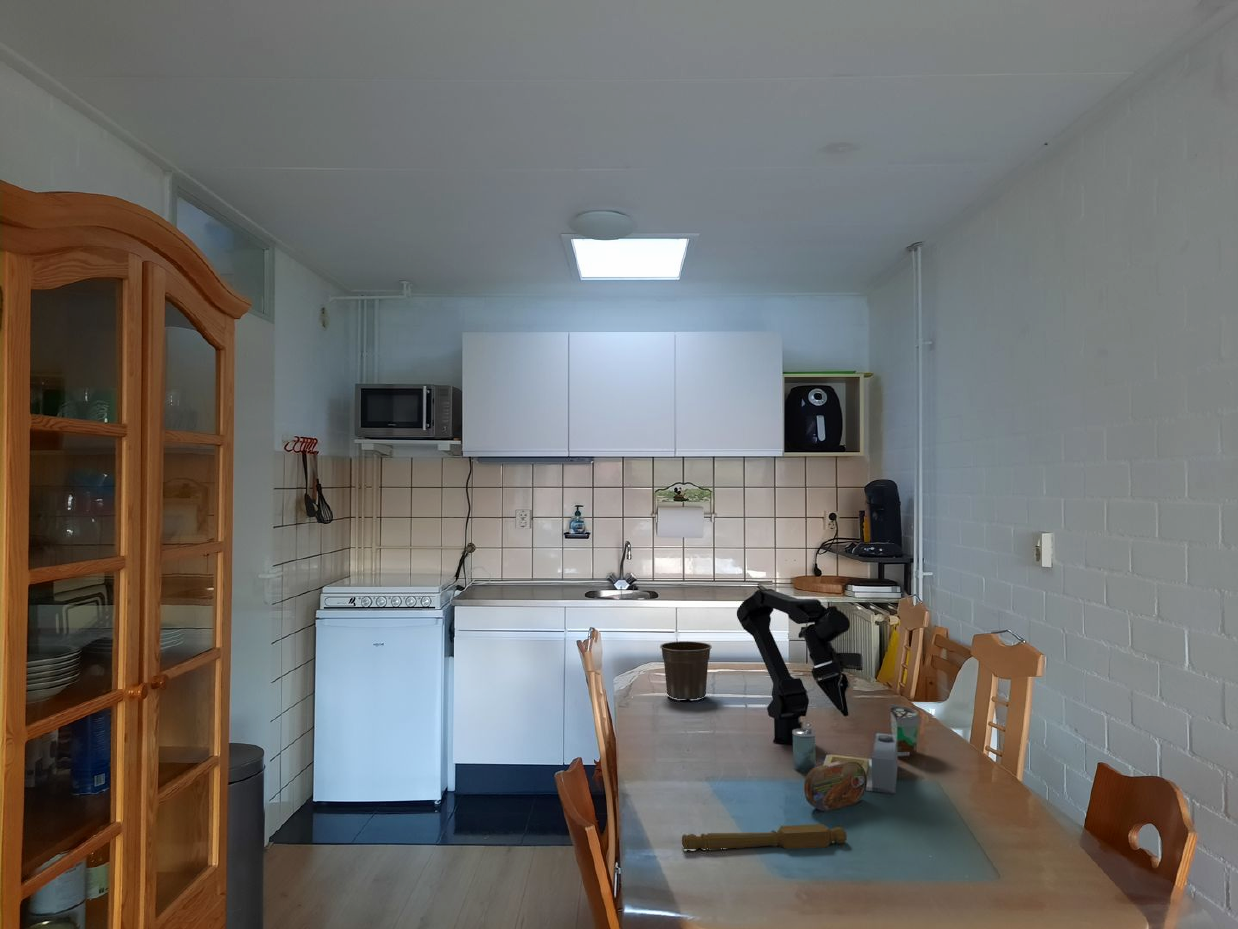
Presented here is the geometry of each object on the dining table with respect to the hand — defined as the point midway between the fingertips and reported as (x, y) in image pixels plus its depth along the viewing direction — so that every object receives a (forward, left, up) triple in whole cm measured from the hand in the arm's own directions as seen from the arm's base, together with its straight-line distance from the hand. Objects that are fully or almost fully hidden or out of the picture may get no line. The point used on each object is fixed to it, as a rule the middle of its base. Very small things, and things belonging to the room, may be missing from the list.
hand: (843, 713), depth 178 cm
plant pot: (-53, +49, -13) cm, 73 cm away
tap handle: (-10, -45, -13) cm, 48 cm away
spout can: (-9, -3, -13) cm, 16 cm away
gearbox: (+3, -3, -13) cm, 13 cm away
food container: (+13, +16, -13) cm, 25 cm away
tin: (0, -22, -13) cm, 25 cm away
